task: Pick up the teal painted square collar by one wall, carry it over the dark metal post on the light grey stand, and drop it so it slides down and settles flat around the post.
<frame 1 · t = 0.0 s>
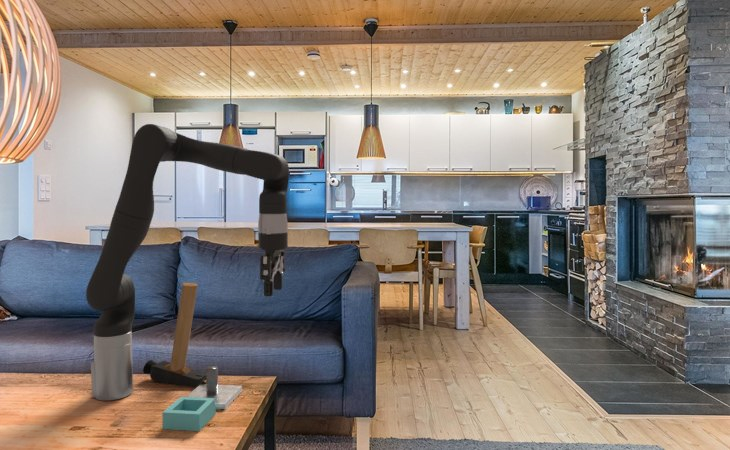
hand: (273, 292, 126), 29 cm above the table, fingers open, 8 cm apart
collar: (190, 421, 117), on the table
stand: (212, 398, 130), on the table
hammer: (178, 382, 142), on the table
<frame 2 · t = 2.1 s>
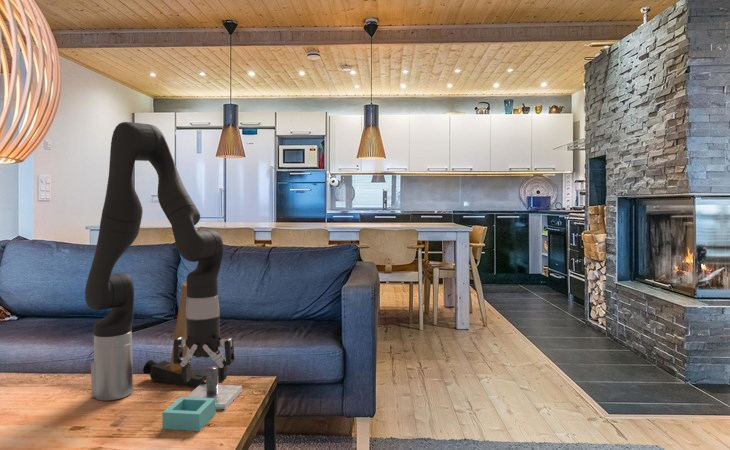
hand: (204, 381, 115), 10 cm above the table, fingers open, 8 cm apart
nothing on the table moved.
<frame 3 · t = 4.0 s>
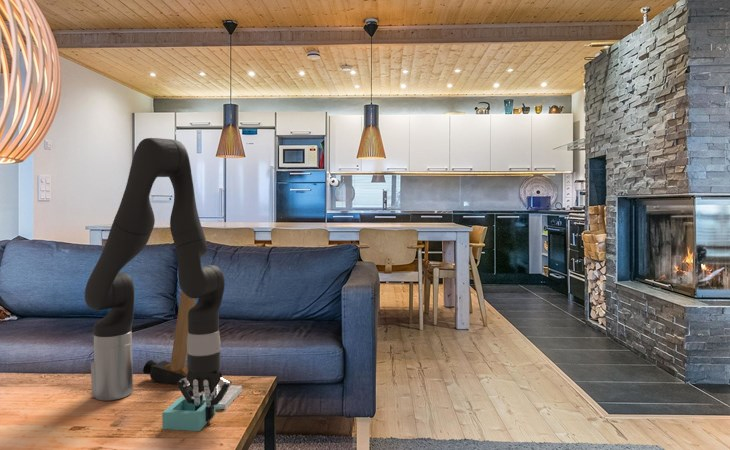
hand: (204, 419, 116), 1 cm above the table, fingers closed on collar
collar: (189, 421, 117), on the table, touching gripper
everything else where it was.
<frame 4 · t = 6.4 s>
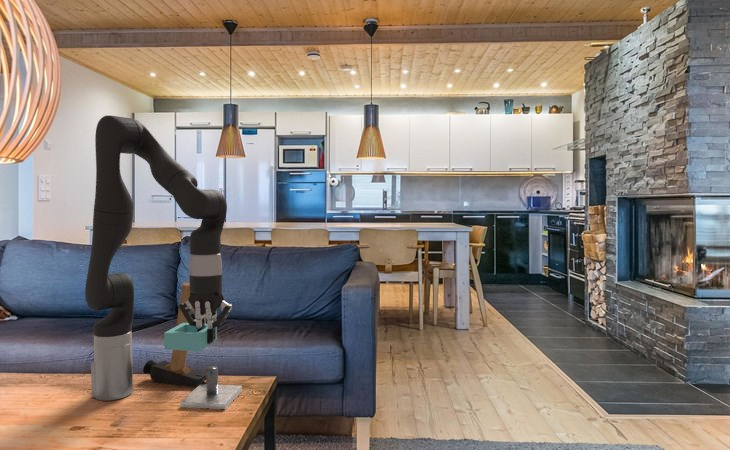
hand: (206, 342, 117), 19 cm above the table, fingers closed on collar
collar: (191, 344, 118), point 18 cm above the table, touching gripper
everything else where it was.
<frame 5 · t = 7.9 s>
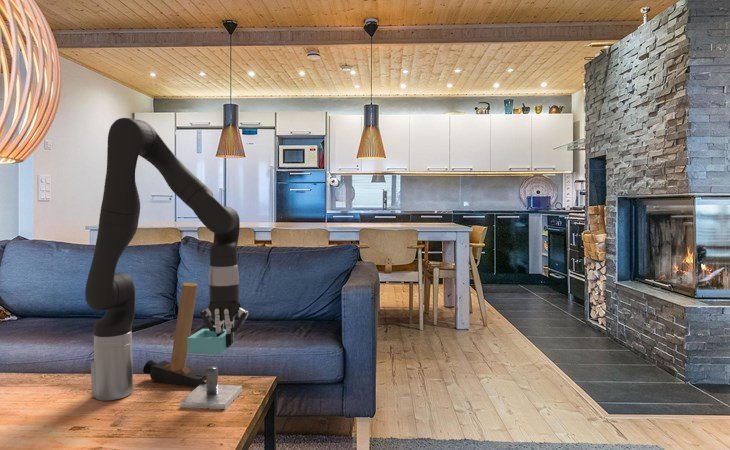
hand: (225, 346, 128), 14 cm above the table, fingers closed on collar
collar: (211, 348, 129), point 14 cm above the table, touching gripper
everything else where it was.
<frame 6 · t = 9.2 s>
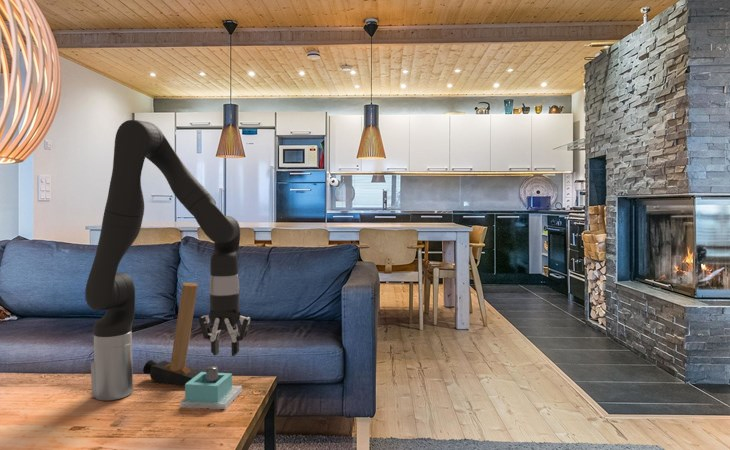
hand: (225, 354, 128), 12 cm above the table, fingers open, 4 cm apart
collar: (209, 393, 130), point 1 cm above the table, touching stand
everything else where it was.
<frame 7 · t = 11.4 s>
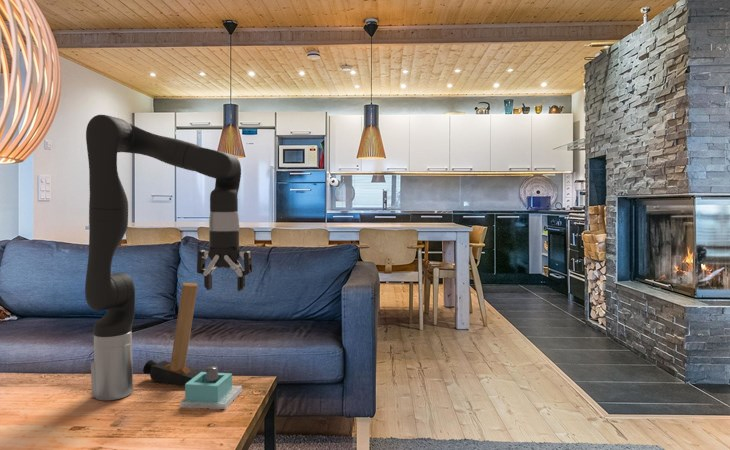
hand: (224, 290, 128), 30 cm above the table, fingers open, 8 cm apart
nothing on the table moved.
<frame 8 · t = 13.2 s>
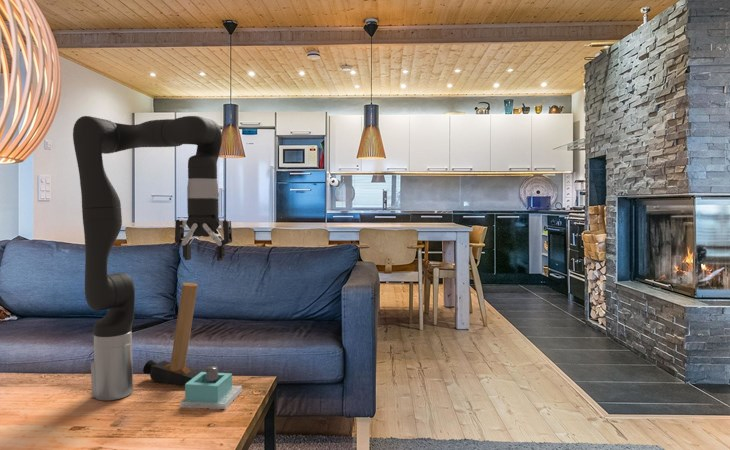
hand: (203, 260, 123), 38 cm above the table, fingers open, 8 cm apart
nothing on the table moved.
at the end: collar 0.9 cm off-centre on the stand, point 1.5 cm above the stand's base; collar tilted 0°; the gripper is holding nothing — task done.
